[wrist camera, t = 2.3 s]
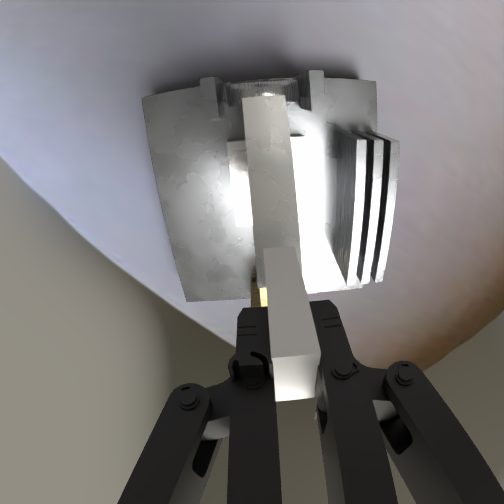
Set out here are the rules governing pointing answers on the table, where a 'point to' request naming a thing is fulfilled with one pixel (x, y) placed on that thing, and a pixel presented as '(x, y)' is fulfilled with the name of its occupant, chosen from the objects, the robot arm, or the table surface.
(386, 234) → the heatsink base
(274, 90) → the strap
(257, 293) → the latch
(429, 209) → the table surface
